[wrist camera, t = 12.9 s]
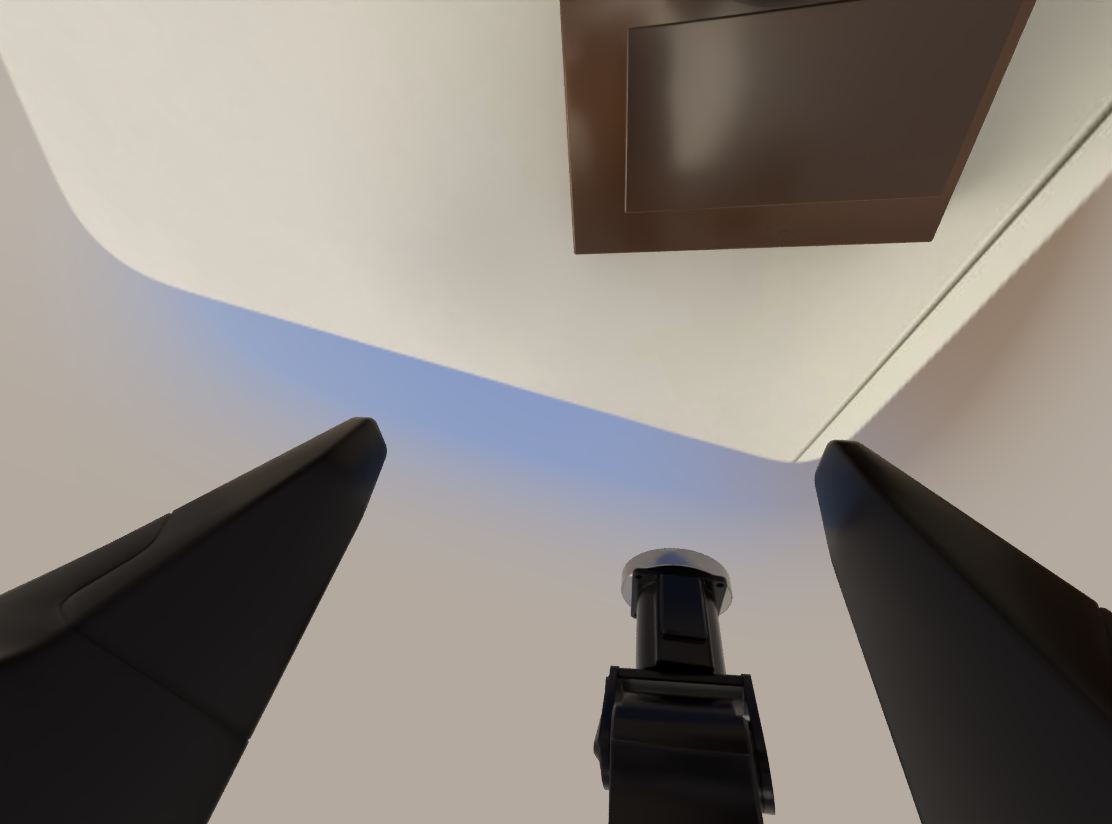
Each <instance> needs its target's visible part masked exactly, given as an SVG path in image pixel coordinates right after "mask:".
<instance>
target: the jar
mask: <svg viewBox="0 0 1112 824" xmlns="http://www.w3.org/2000/svg"><path fill="white" fill-rule="evenodd" d="M733 1H736V2H739V3H742V4H745V5H750V6H758V7H782V6H787V5H792V4H796V3H801V2H804V1H807V0H733Z"/></svg>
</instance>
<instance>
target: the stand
mask: <svg viewBox="0 0 1112 824" xmlns="http://www.w3.org/2000/svg"><path fill="white" fill-rule="evenodd" d="M1035 2H1036V0H807V1H804V2H801V3H796V4H792V5H787V6H782V7H758V6H750V5H745V4H742V3H739V2H736V1H733V0H560V16H561V34H562V51H563V68H564V86H565V103H566V121H567V138H568V156H569V173H570V191H571V208H572V226H573V243H574V253H575V254H604V253H632V252H660V251H688V250H716V249H744V248H772V247H799V246H827V245H855V244H883V243H911V242H930V241H932V240H933V238H934V235H935V233H936V231H937V228H938V226H939V224H940V222H941V219H942V217H943V215H944V212H945V210H946V208H947V205H948V203H949V201H950V198H951V196H952V194H953V192H954V189H955V187H956V185H957V182H958V180H959V178H960V175H961V173H962V171H963V168H964V166H965V164H966V162H967V159H968V157H969V155H970V152H971V150H972V148H973V145H974V143H975V141H976V138H977V136H978V134H979V132H980V129H981V127H982V125H983V122H984V120H985V118H986V115H987V113H988V111H989V108H990V106H991V104H992V101H993V99H994V97H995V95H996V92H997V90H998V88H999V85H1000V83H1001V81H1002V78H1003V76H1004V74H1005V71H1006V69H1007V67H1008V65H1009V62H1010V60H1011V58H1012V55H1013V53H1014V51H1015V48H1016V46H1017V44H1018V41H1019V39H1020V37H1021V35H1022V32H1023V30H1024V28H1025V25H1026V23H1027V21H1028V18H1029V16H1030V14H1031V11H1032V9H1033V7H1034V5H1035Z"/></svg>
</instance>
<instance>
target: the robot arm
mask: <svg viewBox="0 0 1112 824" xmlns="http://www.w3.org/2000/svg"><path fill="white" fill-rule="evenodd" d="M386 454H387V448H386V444H385V441H384V439H383V437H382V434H381V433H380V430H379V427H378V425H377V423H376V421H375V420H374V419H372V418H367V417H354V418H351V419H349V420H347V421H345V422H343V423H341V424H339V425H337V426H336V427H334V428H332V429H330V430H328V431H326V432H324V433H322V434H320V435H318V436H316V437H315V438H313V439H311V440H309V441H307V442H305V443H303V444H301V445H299V446H297V447H295V448H293V449H291V450H289V451H287V452H286V453H284V454H282V455H280V456H278V457H276V458H274V459H272V460H270V461H268V462H266V463H264V464H263V465H261V466H259V467H257V468H255V469H253V470H251V471H249V472H247V473H245V474H243V475H241V476H239V477H237V478H236V479H234V480H232V481H230V482H228V483H226V484H224V485H222V486H220V487H218V488H216V489H214V490H212V491H211V492H209V493H207V494H205V495H203V496H201V497H199V498H197V499H195V500H193V501H191V502H189V503H187V504H186V505H184V506H182V507H180V508H178V509H176V510H174V511H173V512H172V514H170V513H168V514H166V515H164V516H162V517H160V518H159V519H156V520H154V521H153V522H151V523H149V524H147V525H145V526H143V527H141V528H139V529H137V530H135V531H133V532H131V533H129V534H127V535H125V536H123V537H121V538H119V539H117V540H115V541H113V542H111V543H109V544H107V545H105V546H103V547H101V548H99V549H97V550H95V551H93V552H90V553H88V554H86V555H85V556H82V557H80V558H78V559H76V560H74V561H72V562H70V563H68V564H65V565H63V566H61V567H59V568H57V569H55V570H53V571H50V572H49V573H46V574H44V575H42V576H40V577H38V578H35V579H33V580H31V581H29V582H27V583H25V584H23V585H20V586H18V587H16V588H14V589H12V590H10V591H8V592H5V593H3V594H1V595H0V824H207V823H208V821H209V819H210V817H211V815H212V813H213V811H214V810H215V808H216V806H217V803H218V802H219V800H220V798H221V796H222V794H223V792H224V789H225V788H226V786H227V784H228V782H229V780H230V778H231V776H232V774H233V771H234V769H235V768H236V766H237V764H238V762H239V760H240V758H241V756H242V754H243V752H244V750H245V749H246V746H247V744H248V742H249V741H248V739H250V738H251V736H252V734H253V732H254V730H255V728H256V726H257V724H258V722H259V720H260V718H261V716H262V714H263V712H264V711H265V708H266V706H267V705H268V703H269V701H270V699H271V697H272V695H273V693H274V691H275V689H276V686H277V685H278V683H279V681H280V679H281V677H282V675H283V673H284V671H285V669H286V667H287V665H288V663H289V661H290V659H291V657H292V655H293V654H294V652H295V650H296V647H297V645H298V644H299V641H300V640H301V638H302V636H303V634H304V632H305V630H306V628H307V626H308V624H309V622H310V620H311V618H312V616H313V614H314V612H315V610H316V608H317V606H318V604H319V602H320V600H321V598H322V596H323V595H324V592H325V591H326V589H327V587H328V585H329V582H330V581H331V579H332V577H333V575H334V573H335V571H336V569H337V567H338V565H339V563H340V561H341V559H342V557H343V555H344V553H345V551H346V549H347V547H348V545H349V543H350V541H351V539H352V537H353V536H354V534H355V531H356V530H357V527H358V526H359V523H360V521H361V519H362V517H363V515H364V512H365V510H366V508H367V505H368V503H369V500H370V497H371V495H372V492H373V490H374V487H375V484H376V482H377V479H378V477H379V474H380V471H381V469H382V466H383V463H384V461H385V458H386ZM815 487H816V492H817V497H818V501H819V506H820V511H821V516H822V520H823V525H824V530H825V534H826V539H827V544H828V549H829V553H830V556H831V561H832V564H833V567H834V570H835V573H836V576H837V579H838V582H839V585H840V588H841V591H842V594H843V597H844V600H845V603H846V605H847V608H848V611H849V614H850V617H851V620H852V623H853V626H854V629H855V632H856V634H857V637H858V640H859V643H860V646H861V648H862V652H863V655H864V658H865V661H866V664H867V666H868V669H869V672H870V675H871V678H872V681H873V684H874V687H875V690H876V692H877V695H878V698H879V701H880V704H881V707H882V710H883V713H884V716H885V719H886V721H887V724H888V727H889V730H890V733H891V736H892V739H893V742H894V745H895V748H896V750H897V753H898V756H899V759H900V762H901V765H902V768H903V770H904V774H905V777H906V779H907V783H908V785H909V788H910V791H911V794H912V797H913V800H914V803H915V806H916V809H917V812H918V814H919V817H920V820H921V823H922V824H1112V612H1111V611H1109V610H1107V609H1106V608H1099V606H1098V604H1097V603H1096V602H1095V601H1094V600H1092V599H1091V598H1090V597H1088V596H1086V595H1085V594H1084V593H1082V592H1081V591H1079V590H1078V589H1076V588H1075V587H1073V586H1072V585H1070V584H1069V583H1067V582H1066V581H1064V580H1063V579H1061V578H1060V577H1058V576H1057V575H1055V574H1054V573H1052V572H1051V571H1049V570H1048V569H1046V568H1045V567H1043V566H1042V565H1040V564H1039V563H1038V562H1036V561H1035V560H1033V559H1032V558H1030V557H1029V556H1027V555H1026V554H1024V553H1023V552H1021V551H1020V550H1018V549H1017V548H1015V547H1014V546H1012V545H1011V544H1009V543H1008V542H1006V541H1005V540H1004V539H1002V538H1001V537H999V536H998V535H996V534H995V533H993V532H992V531H990V530H989V529H987V528H986V527H984V526H983V525H981V524H980V523H978V522H977V521H975V520H974V519H972V518H971V517H969V516H968V515H966V514H965V513H964V512H962V511H960V510H959V509H958V508H956V507H955V506H953V505H951V504H950V503H949V502H947V501H946V500H944V499H943V498H941V497H940V496H938V495H937V494H935V493H934V492H932V491H931V490H929V489H928V488H926V487H925V486H923V485H922V484H921V483H919V482H918V481H916V480H914V479H913V478H912V477H910V476H909V475H907V474H906V473H904V472H903V471H901V470H900V469H898V468H897V467H895V466H894V465H892V464H891V463H889V462H888V461H886V460H885V459H883V458H882V457H880V456H879V455H878V454H876V453H874V452H873V451H872V450H870V449H869V448H867V447H866V446H864V445H863V444H861V443H859V442H857V441H851V440H832V441H830V442H829V443H828V444H827V446H826V448H825V451H824V453H823V455H822V458H821V460H820V463H819V465H818V467H817V470H816V473H815ZM726 589H727V580H726V578H725V577H723V576H716V575H706V574H696V573H685V572H675V571H665V570H655V569H645V568H636V569H634V570H633V575H632V598H631V616H632V617H633V618H636V619H637V629H636V632H637V633H636V669H631V668H619V666H611V667H610V674H609V676H608V677H606V685H605V695H604V702H603V708H602V715H601V718H600V722H599V726H598V730H597V734H596V737H595V741H594V754H595V756H596V757H597V759H598V760H599V762H600V768H601V776H602V782H603V786H604V789H605V790H609V824H763V817H762V813H764V814H770V815H775V803H774V795H773V787H772V780H771V774H770V768H769V762H768V756H767V751H766V746H765V741H764V736H763V732H762V727H761V723H760V717H759V713H758V709H757V703H756V699H755V694H754V689H753V685H752V680H751V675H750V674H741V676H740V675H726V671H725V664H724V656H723V649H722V642H721V634H720V627H719V620H718V616H719V613H720V610H721V606H722V603H723V599H724V596H725V592H726ZM743 716H744V717H743Z"/></svg>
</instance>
